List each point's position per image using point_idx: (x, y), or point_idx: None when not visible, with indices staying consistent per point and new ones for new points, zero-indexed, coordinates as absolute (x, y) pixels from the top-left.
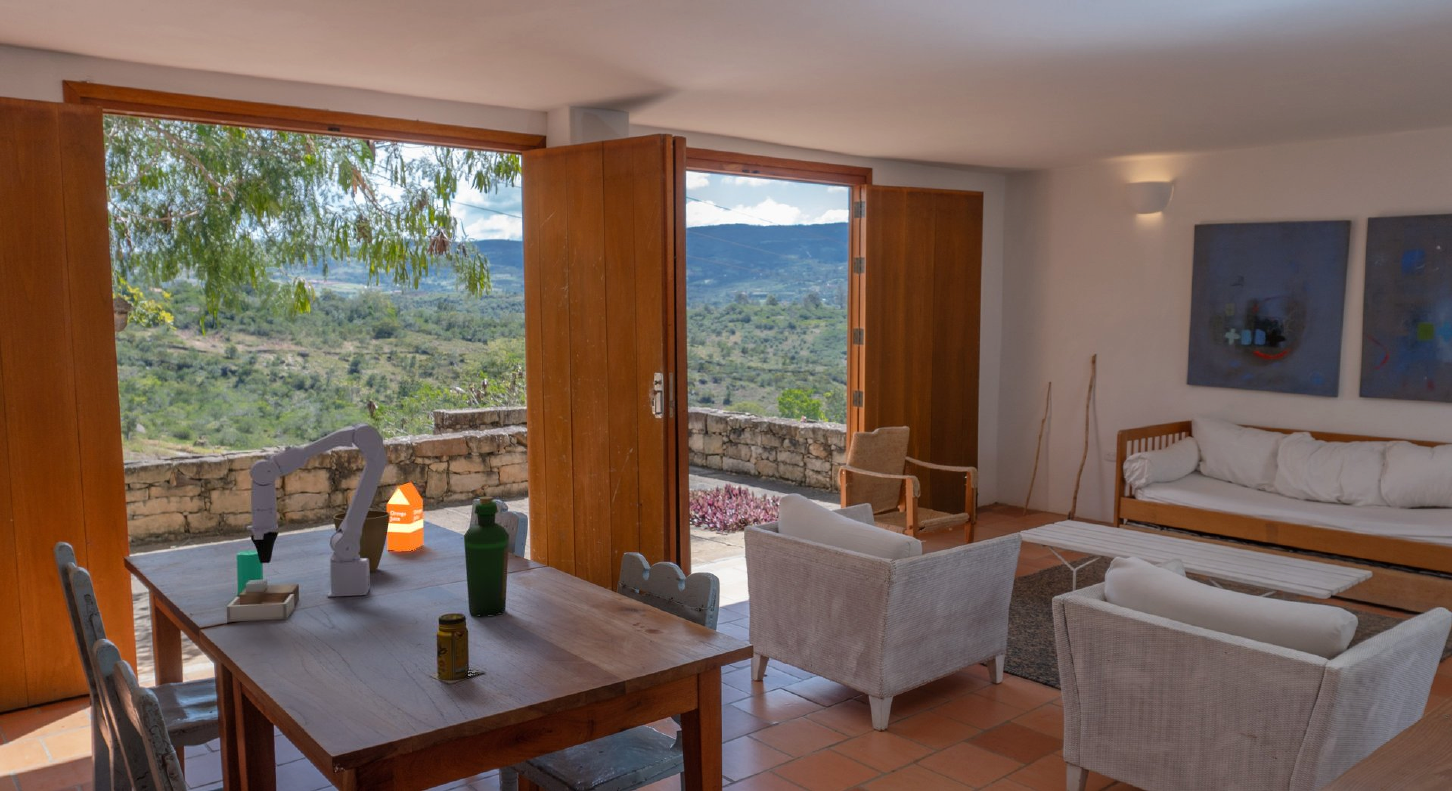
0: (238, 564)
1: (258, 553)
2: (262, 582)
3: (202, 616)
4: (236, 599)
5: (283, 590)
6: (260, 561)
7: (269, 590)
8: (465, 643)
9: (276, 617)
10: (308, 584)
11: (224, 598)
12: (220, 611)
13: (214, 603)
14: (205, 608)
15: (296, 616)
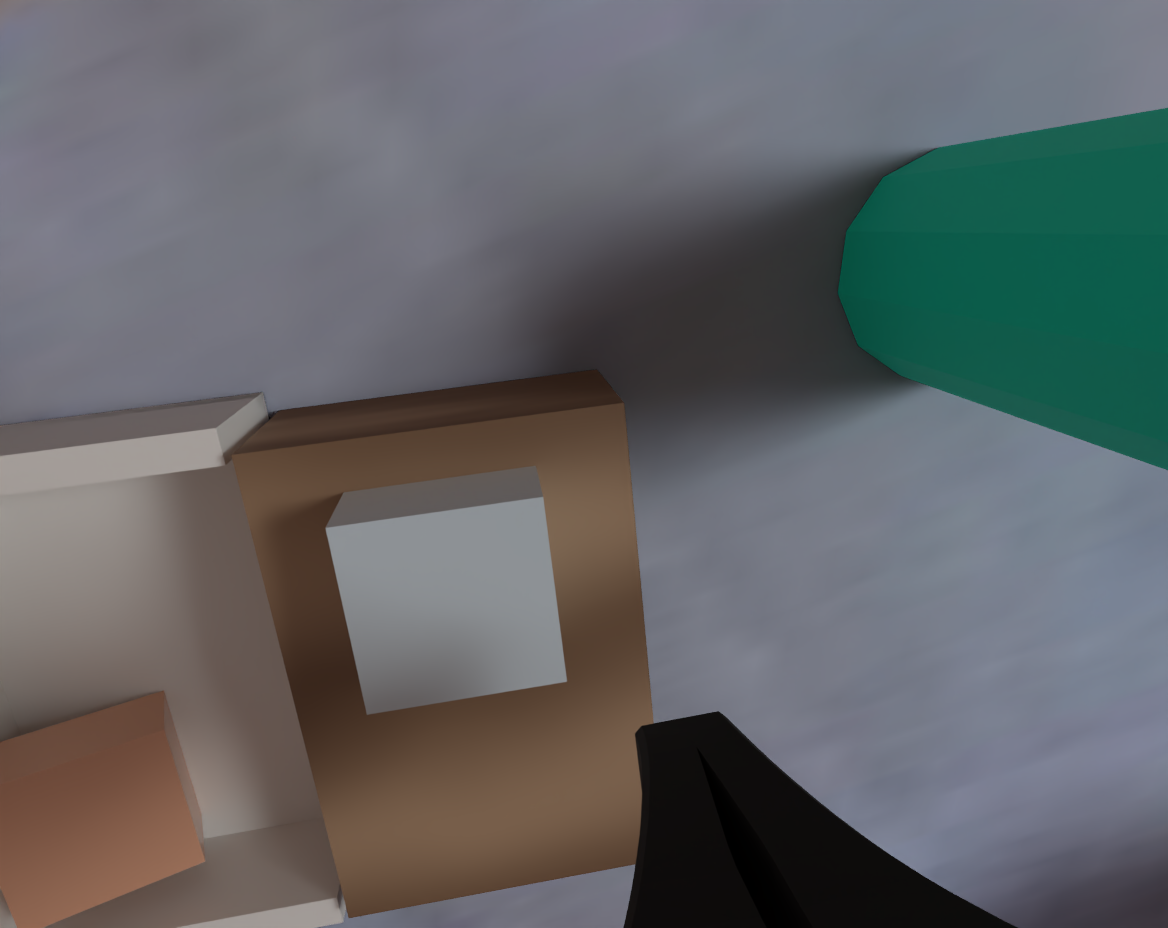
0: (1122, 160)
1: (641, 845)
2: (420, 686)
3: (64, 100)
4: (100, 474)
5: (422, 823)
6: (641, 747)
7: None
8: None
9: None
10: (1101, 660)
11: (768, 73)
12: (268, 225)
13: (580, 35)
14: (384, 7)
15: None
